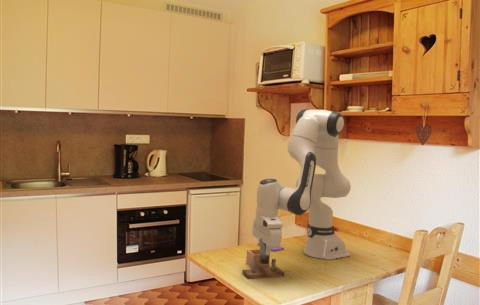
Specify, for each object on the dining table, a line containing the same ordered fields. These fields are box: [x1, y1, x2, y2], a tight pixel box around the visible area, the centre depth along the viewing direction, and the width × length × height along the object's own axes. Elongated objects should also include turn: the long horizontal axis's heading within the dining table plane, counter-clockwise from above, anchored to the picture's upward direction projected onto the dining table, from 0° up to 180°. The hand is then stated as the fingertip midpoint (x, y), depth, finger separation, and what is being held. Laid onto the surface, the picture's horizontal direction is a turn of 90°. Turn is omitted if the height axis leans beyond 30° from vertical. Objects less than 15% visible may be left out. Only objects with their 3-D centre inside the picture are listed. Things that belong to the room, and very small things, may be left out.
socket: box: [245, 248, 271, 269], centre depth 175 cm, size 8×8×6 cm
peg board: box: [241, 258, 285, 280], centre depth 164 cm, size 16×6×6 cm, turn 111°
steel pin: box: [259, 238, 270, 264], centre depth 163 cm, size 4×4×10 cm
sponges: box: [257, 242, 285, 253], centre depth 202 cm, size 7×13×2 cm, turn 39°
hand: (264, 252), depth 163 cm, fingers closed on steel pin, 4 cm apart
